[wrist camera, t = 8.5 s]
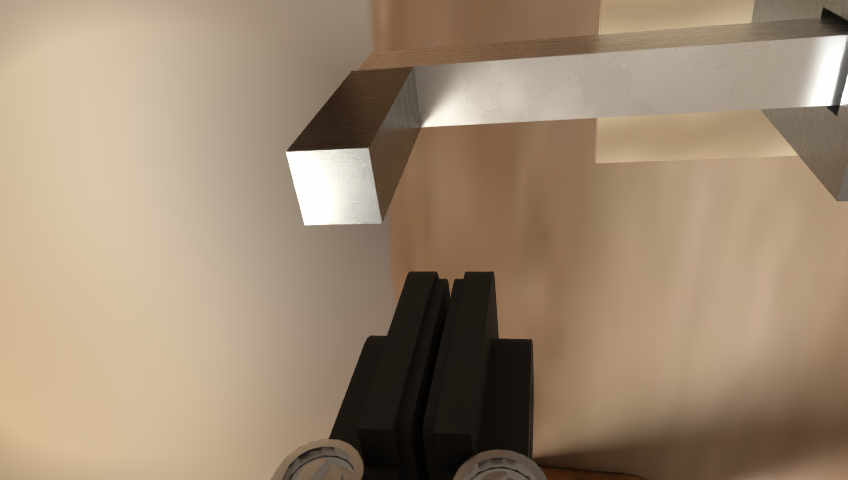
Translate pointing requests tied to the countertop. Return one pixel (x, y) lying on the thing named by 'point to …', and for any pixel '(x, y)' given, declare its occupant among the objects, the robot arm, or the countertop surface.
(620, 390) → the countertop surface
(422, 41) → the countertop surface
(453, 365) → the robot arm
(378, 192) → the l-shaped metal bar
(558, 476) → the pancake mix bag
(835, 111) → the metal block
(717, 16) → the board
